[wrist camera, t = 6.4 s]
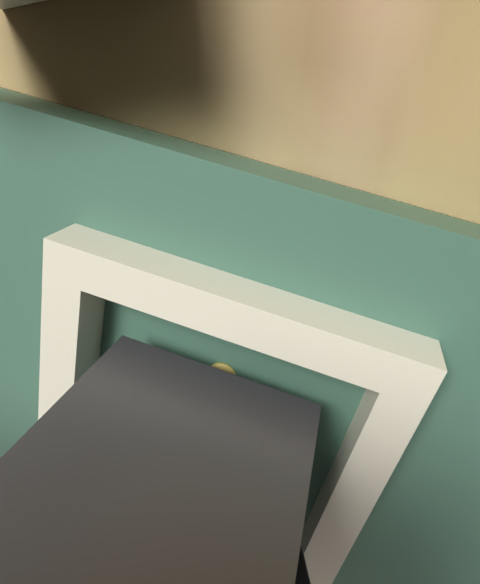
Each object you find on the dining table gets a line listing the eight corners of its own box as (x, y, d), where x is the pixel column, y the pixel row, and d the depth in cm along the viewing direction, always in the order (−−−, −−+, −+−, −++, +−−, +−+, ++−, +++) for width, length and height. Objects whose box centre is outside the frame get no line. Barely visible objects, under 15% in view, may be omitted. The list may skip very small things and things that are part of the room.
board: (799, 315, 8) (946, 394, 6) (443, 701, 14) (456, 800, 12) (-32, 77, 10) (-133, 75, 8) (-13, 507, 16) (-66, 566, 14)
